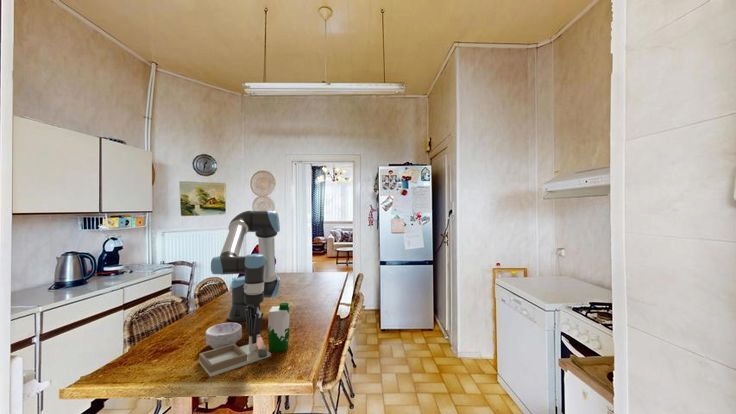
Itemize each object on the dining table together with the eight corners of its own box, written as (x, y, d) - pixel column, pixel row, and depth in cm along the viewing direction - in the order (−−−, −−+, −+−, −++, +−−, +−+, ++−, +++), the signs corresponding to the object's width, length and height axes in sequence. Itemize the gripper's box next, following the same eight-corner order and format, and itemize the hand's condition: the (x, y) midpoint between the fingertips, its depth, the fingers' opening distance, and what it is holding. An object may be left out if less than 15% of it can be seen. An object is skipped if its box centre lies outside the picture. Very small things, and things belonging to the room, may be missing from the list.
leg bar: (251, 342, 135) (251, 335, 135) (260, 340, 136) (260, 333, 136) (258, 358, 119) (258, 351, 119) (268, 356, 121) (268, 349, 121)
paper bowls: (205, 355, 130) (205, 337, 130) (205, 342, 144) (205, 325, 144) (243, 348, 137) (243, 331, 137) (240, 336, 151) (240, 320, 151)
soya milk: (287, 352, 134) (287, 306, 134) (266, 353, 133) (266, 307, 133) (290, 343, 143) (290, 301, 143) (270, 344, 142) (271, 301, 142)
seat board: (198, 362, 125) (198, 352, 125) (255, 344, 141) (256, 336, 141) (210, 376, 114) (210, 366, 114) (270, 356, 131) (270, 347, 131)
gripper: (238, 290, 126) (237, 347, 126) (251, 297, 117) (250, 359, 117) (256, 287, 132) (255, 342, 131) (269, 294, 122) (268, 353, 122)
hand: (252, 350), depth 124 cm, fingers closed
